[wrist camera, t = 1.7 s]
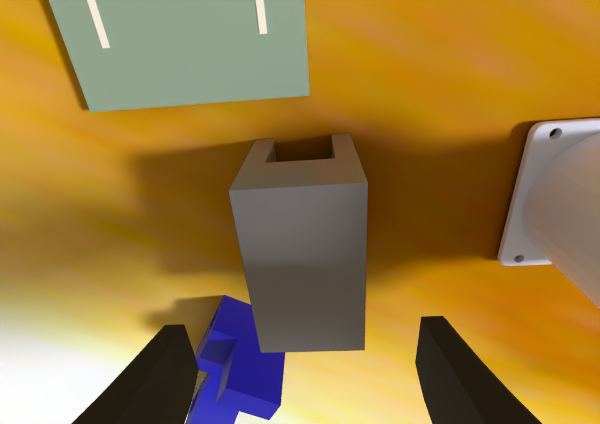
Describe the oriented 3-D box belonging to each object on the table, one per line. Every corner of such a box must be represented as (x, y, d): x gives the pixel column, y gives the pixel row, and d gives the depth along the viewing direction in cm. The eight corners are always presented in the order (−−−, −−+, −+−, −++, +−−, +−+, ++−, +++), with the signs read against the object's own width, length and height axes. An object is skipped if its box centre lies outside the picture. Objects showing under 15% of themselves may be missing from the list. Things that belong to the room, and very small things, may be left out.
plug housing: (349, 132, 16) (367, 182, 11) (350, 265, 20) (364, 350, 14) (255, 139, 16) (228, 190, 11) (274, 268, 20) (260, 352, 15)
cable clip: (225, 293, 21) (196, 378, 16) (288, 316, 22) (280, 405, 17) (175, 393, 27) (142, 481, 21) (228, 409, 28) (208, 498, 22)
